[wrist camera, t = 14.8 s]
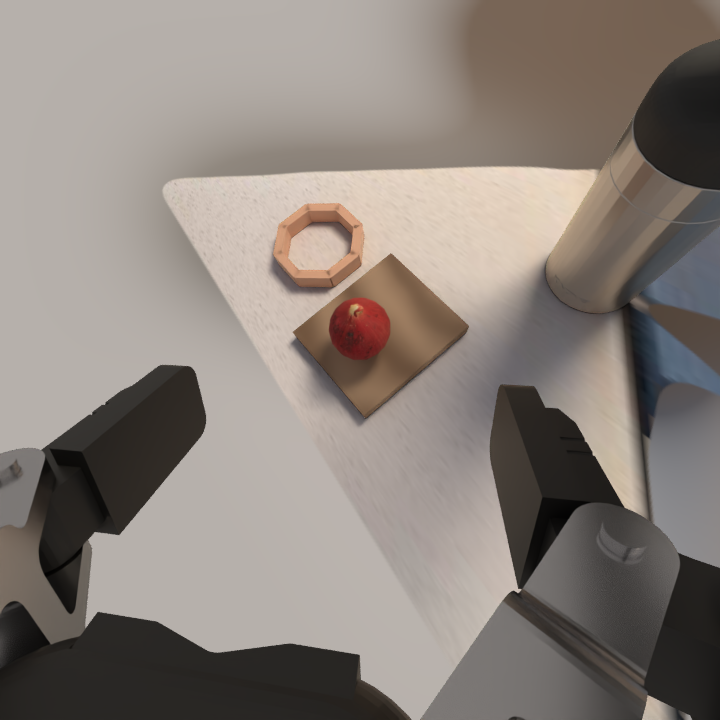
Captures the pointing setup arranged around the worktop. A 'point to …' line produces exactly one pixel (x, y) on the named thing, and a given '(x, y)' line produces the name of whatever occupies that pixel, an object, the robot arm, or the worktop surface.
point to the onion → (359, 328)
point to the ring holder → (299, 222)
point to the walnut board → (406, 341)
